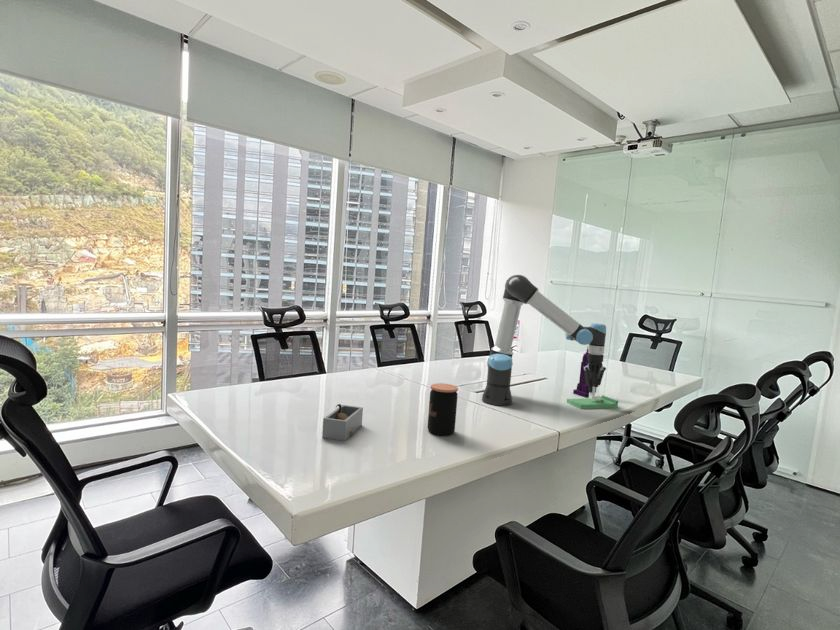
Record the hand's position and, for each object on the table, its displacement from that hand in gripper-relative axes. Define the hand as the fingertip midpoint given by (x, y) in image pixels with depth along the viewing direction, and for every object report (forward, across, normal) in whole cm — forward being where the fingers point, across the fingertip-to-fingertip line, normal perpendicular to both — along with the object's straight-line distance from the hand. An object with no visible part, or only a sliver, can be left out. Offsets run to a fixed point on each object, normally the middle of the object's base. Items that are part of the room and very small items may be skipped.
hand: (591, 398), depth 233 cm
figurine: (+3, -133, -23) cm, 135 cm away
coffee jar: (+3, -95, -29) cm, 99 cm away
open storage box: (+3, -132, -24) cm, 134 cm away
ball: (-2, +4, 0) cm, 5 cm away
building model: (+4, +10, +19) cm, 22 cm away
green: (+3, +1, 0) cm, 4 cm away
